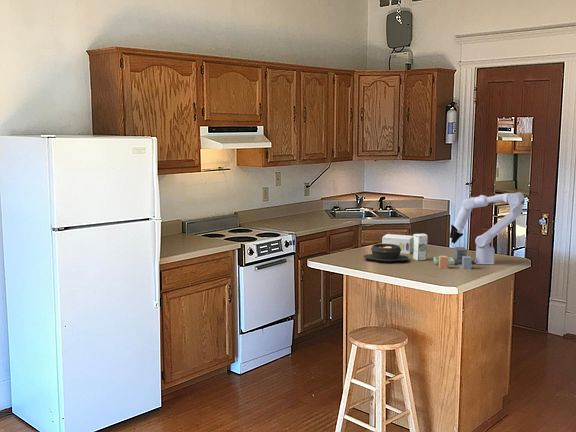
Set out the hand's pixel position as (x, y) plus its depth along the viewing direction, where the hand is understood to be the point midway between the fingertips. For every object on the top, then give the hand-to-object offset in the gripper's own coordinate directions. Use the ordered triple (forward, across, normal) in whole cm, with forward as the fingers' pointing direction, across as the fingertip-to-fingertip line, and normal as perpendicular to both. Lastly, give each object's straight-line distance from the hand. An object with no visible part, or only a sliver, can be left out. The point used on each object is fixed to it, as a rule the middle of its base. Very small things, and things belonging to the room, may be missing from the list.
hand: (452, 240), depth 349 cm
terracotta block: (+9, +24, -4) cm, 26 cm away
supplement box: (+24, -20, -22) cm, 38 cm away
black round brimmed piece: (+22, +9, -31) cm, 39 cm away
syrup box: (+16, +4, -13) cm, 21 cm away
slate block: (+5, +24, +7) cm, 25 cm away
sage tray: (+10, +12, -2) cm, 16 cm away
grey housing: (+8, +10, +6) cm, 14 cm away
